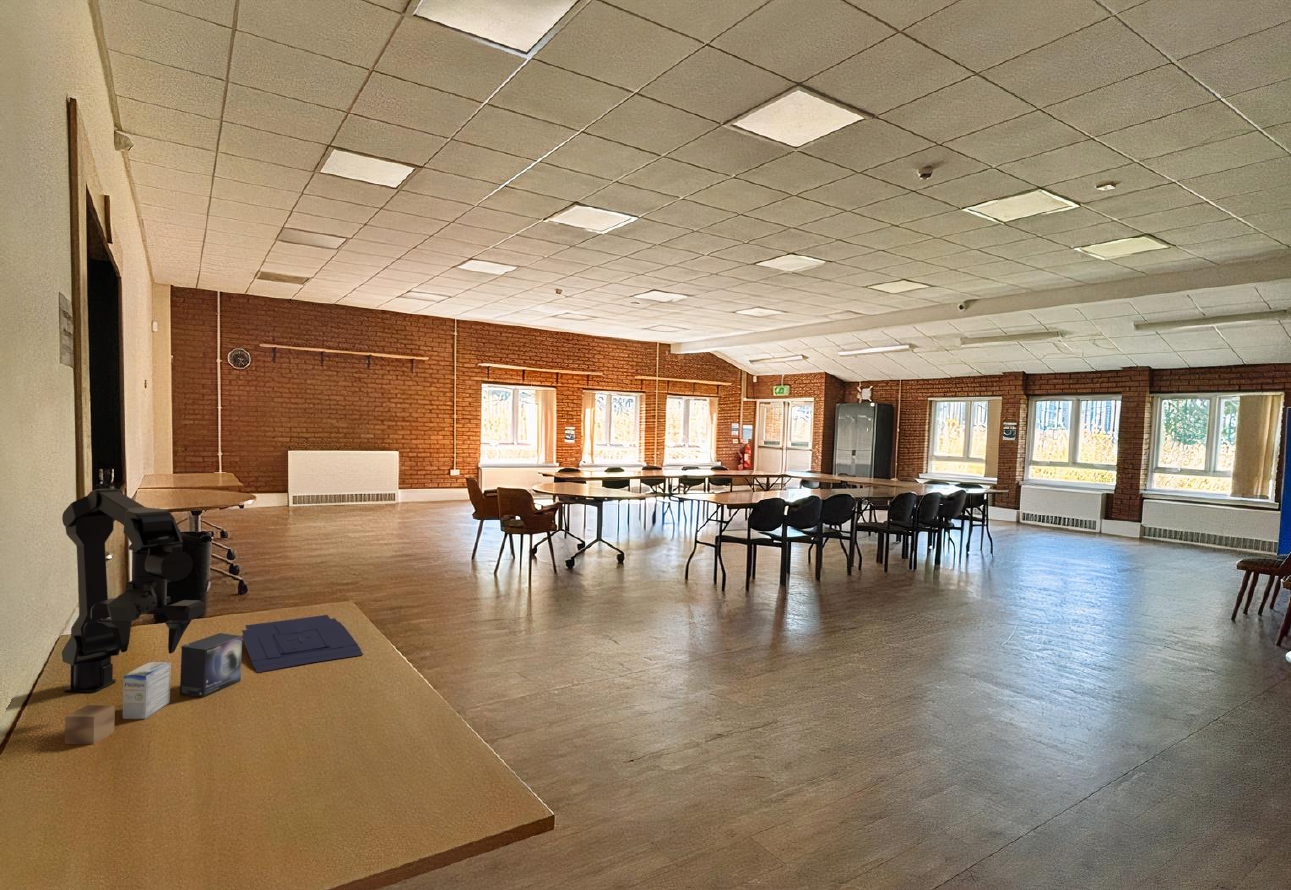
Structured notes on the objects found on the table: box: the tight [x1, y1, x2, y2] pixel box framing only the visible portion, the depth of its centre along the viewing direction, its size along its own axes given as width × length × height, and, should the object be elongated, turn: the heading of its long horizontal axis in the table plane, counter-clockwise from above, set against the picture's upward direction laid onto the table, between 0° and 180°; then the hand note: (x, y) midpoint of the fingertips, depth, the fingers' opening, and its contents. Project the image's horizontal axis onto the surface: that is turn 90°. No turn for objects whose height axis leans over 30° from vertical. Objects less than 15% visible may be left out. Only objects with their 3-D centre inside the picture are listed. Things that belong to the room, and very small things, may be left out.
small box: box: [178, 632, 243, 698], centre depth 151 cm, size 11×6×10 cm, turn 168°
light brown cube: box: [64, 704, 116, 745], centre depth 126 cm, size 5×5×5 cm
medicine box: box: [122, 661, 172, 720], centre depth 138 cm, size 8×4×9 cm, turn 5°
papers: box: [241, 614, 364, 673], centre depth 179 cm, size 24×30×4 cm
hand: (147, 652), depth 138 cm, fingers open, 9 cm apart
